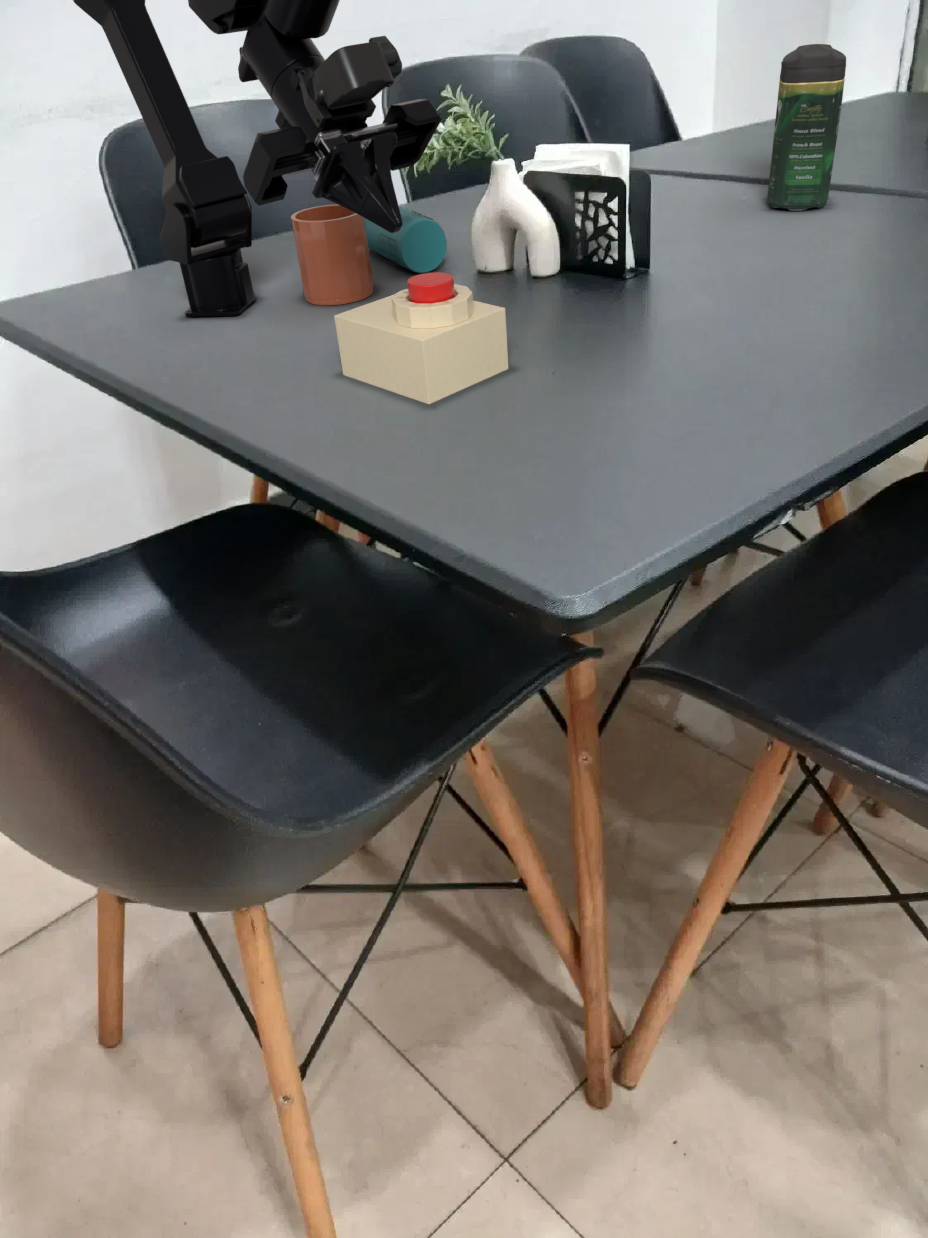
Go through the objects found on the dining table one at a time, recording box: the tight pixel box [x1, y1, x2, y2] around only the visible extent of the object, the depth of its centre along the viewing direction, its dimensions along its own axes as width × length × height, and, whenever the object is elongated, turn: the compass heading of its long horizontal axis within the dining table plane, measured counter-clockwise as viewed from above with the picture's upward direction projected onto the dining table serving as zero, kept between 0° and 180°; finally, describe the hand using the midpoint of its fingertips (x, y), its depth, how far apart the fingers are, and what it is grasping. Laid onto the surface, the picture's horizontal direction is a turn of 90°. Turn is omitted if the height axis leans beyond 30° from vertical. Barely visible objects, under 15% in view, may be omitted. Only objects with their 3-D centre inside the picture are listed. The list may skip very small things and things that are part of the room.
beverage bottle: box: [365, 206, 448, 275], centre depth 121 cm, size 6×7×20 cm
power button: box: [406, 271, 455, 304], centre depth 85 cm, size 4×4×2 cm
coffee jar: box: [767, 43, 847, 212], centre depth 125 cm, size 10×8×19 cm
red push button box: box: [333, 283, 509, 405], centre depth 88 cm, size 12×10×8 cm
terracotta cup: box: [290, 203, 374, 306], centre depth 110 cm, size 8×8×9 cm
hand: (397, 228), depth 84 cm, fingers closed
